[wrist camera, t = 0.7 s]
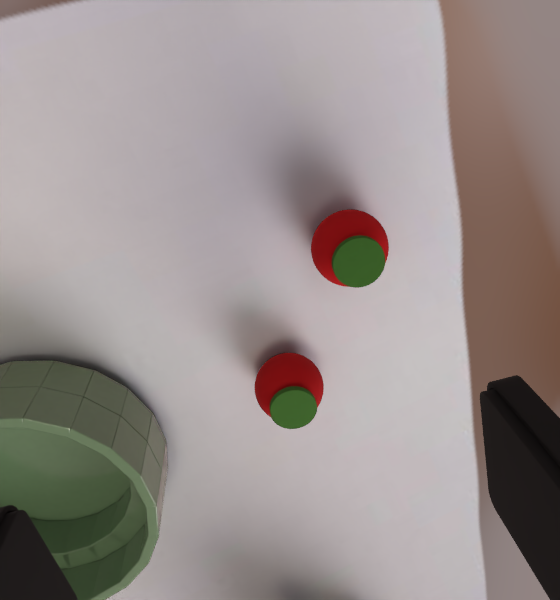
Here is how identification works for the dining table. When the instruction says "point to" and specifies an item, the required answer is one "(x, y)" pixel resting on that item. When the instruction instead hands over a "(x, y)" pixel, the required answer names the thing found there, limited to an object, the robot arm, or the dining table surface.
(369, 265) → the red ball green cap
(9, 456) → the fruit bowl
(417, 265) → the dining table surface
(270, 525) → the dining table surface
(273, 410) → the strawberry
